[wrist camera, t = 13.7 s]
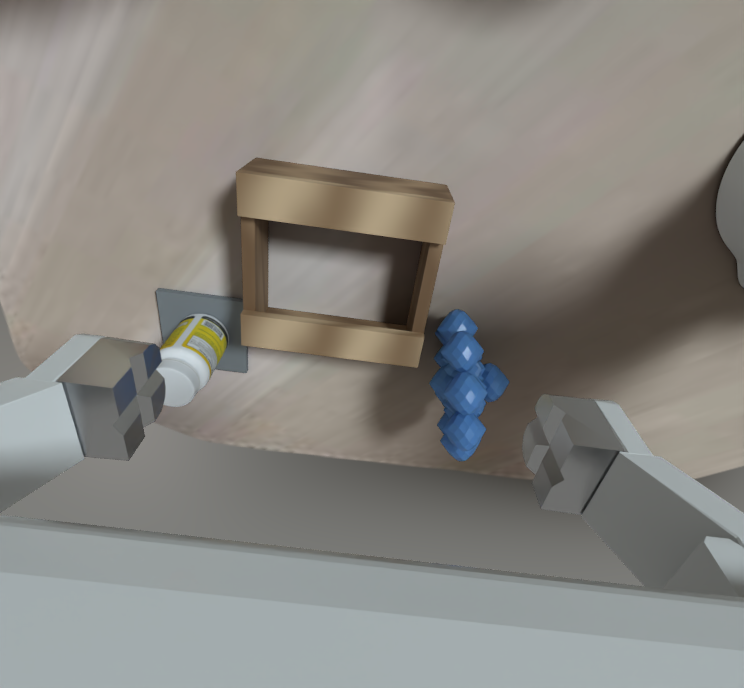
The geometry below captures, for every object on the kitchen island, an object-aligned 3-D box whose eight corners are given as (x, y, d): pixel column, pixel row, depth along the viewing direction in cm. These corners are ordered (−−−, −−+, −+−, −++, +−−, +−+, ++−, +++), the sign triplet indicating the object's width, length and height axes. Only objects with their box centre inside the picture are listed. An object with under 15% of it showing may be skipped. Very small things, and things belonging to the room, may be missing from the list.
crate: (446, 184, 35) (454, 203, 31) (414, 335, 43) (417, 367, 38) (255, 157, 35) (235, 171, 30) (257, 315, 42) (241, 345, 38)
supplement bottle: (183, 351, 44) (143, 407, 37) (176, 309, 41) (132, 360, 34) (232, 356, 44) (201, 413, 37) (228, 314, 42) (195, 367, 34)
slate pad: (246, 299, 41) (244, 302, 41) (248, 369, 46) (246, 373, 45) (158, 288, 41) (155, 290, 41) (168, 359, 45) (166, 363, 45)
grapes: (490, 393, 46) (518, 486, 36) (424, 394, 46) (433, 487, 36) (501, 290, 40) (539, 367, 30) (425, 292, 40) (436, 369, 30)
